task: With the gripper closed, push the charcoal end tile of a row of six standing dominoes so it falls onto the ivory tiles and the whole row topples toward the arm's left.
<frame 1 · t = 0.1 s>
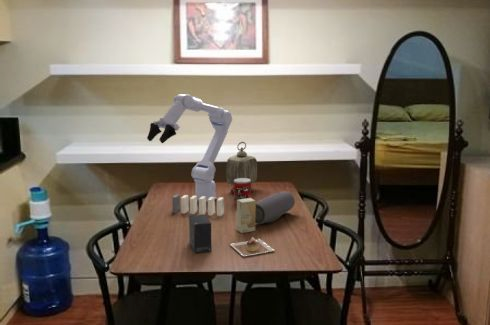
hand: (154, 140, 198), 32 cm above the table, tool tilted 50°, fingers open, 7 cm apart
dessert: (251, 250, 167), on the table
domino 2: (185, 212, 208), on the table
domino 1: (176, 211, 209), on the table
skincare box: (246, 230, 185), on the table
bluetooth speaker: (272, 219, 198), on the table
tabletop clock: (242, 191, 240), on the table
domino 5: (211, 213, 205), on the table
domino 3: (193, 212, 207), on the table
small box: (200, 247, 169), on the table
canned food: (242, 203, 220), on the table
domino 6: (220, 214, 204), on the table
domino 4: (202, 213, 206), on the table
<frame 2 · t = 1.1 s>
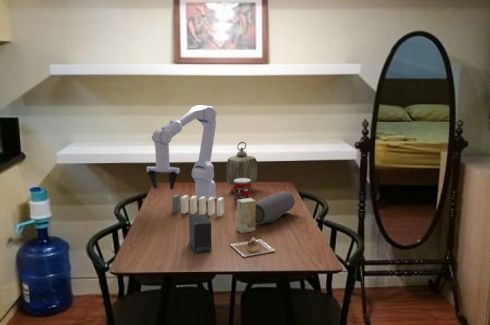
hand: (163, 188, 208), 10 cm above the table, tool pointing down, fingers open, 7 cm apart
nothing on the table moved.
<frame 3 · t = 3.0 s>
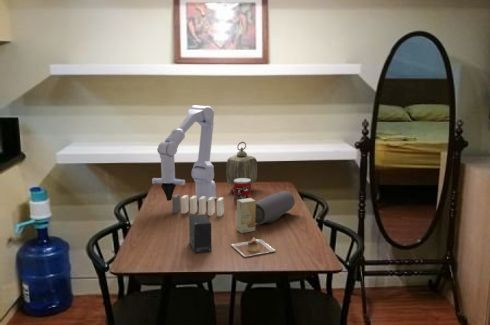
hand: (169, 200, 209), 5 cm above the table, tool pointing down, fingers closed
nothing on the table moved.
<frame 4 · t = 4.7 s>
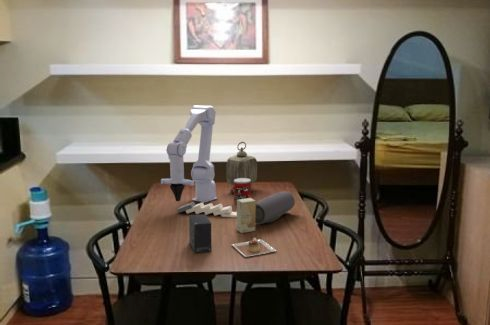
hand: (178, 200, 208), 5 cm above the table, tool pointing down, fingers closed
domino 2: (188, 210, 208), point 1 cm above the table, tilted 67°, touching domino 3
domino 1: (179, 210, 208), point 1 cm above the table, tilted 67°
domino 5: (215, 212, 205), point 1 cm above the table, tilted 73°, touching domino 4, domino 6
domino 3: (196, 211, 207), point 1 cm above the table, tilted 67°, touching domino 2, domino 4
domino 6: (222, 214, 204), on the table, tilted 90°, touching domino 5
domino 4: (206, 211, 206), point 1 cm above the table, tilted 66°, touching domino 3, domino 5
everything else where it was.
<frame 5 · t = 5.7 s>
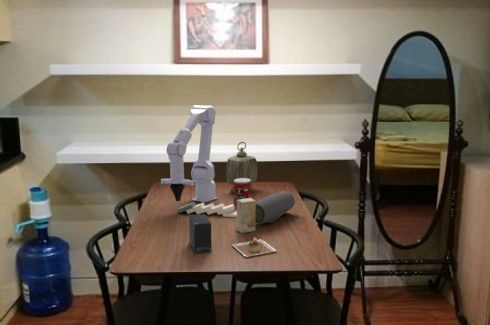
hand: (178, 200, 208), 5 cm above the table, tool pointing down, fingers closed
domino 2: (188, 210, 208), point 1 cm above the table, tilted 68°, touching domino 1, domino 3
domino 1: (179, 210, 208), point 1 cm above the table, tilted 67°, touching domino 2
domino 5: (218, 211, 205), point 1 cm above the table, tilted 70°, touching domino 4
domino 6: (224, 214, 204), on the table, tilted 90°
domino 4: (208, 211, 206), point 1 cm above the table, tilted 68°, touching domino 3, domino 5
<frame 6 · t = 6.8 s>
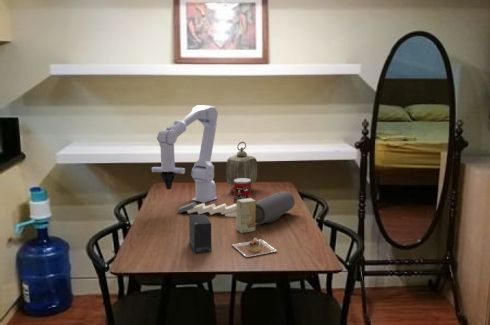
hand: (169, 188, 208), 10 cm above the table, tool pointing down, fingers closed
domino 5: (221, 211, 205), point 1 cm above the table, tilted 70°
domino 3: (199, 211, 207), point 1 cm above the table, tilted 70°, touching domino 2
domino 4: (210, 211, 205), point 1 cm above the table, tilted 69°
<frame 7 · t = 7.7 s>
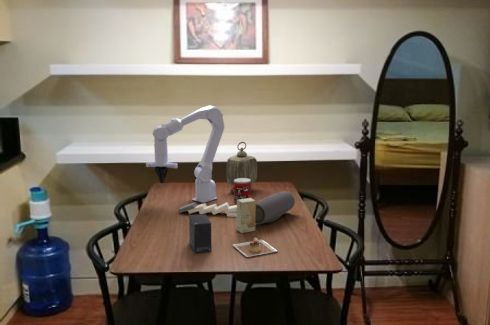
hand: (162, 182, 218), 10 cm above the table, tool pointing down, fingers closed
domino 5: (225, 210, 205), point 1 cm above the table, tilted 78°, touching domino 4, domino 6
domino 3: (200, 211, 206), point 1 cm above the table, tilted 70°, touching domino 2, domino 4
domino 6: (228, 214, 204), on the table, tilted 90°, touching domino 5
domino 4: (213, 211, 206), point 1 cm above the table, tilted 64°, touching domino 3, domino 5
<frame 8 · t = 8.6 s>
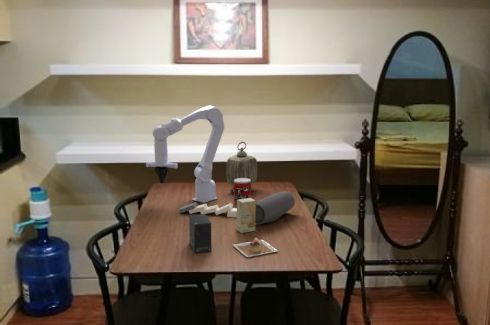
hand: (162, 182, 218), 10 cm above the table, tool pointing down, fingers closed
domino 5: (228, 211, 203), point 2 cm above the table, tilted 89°, touching domino 6
domino 3: (202, 211, 206), point 1 cm above the table, tilted 74°, touching domino 2
domino 4: (217, 212, 205), point 1 cm above the table, tilted 64°
at the end: domino 6 tilted 90°; domino 1 tilted 68° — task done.
